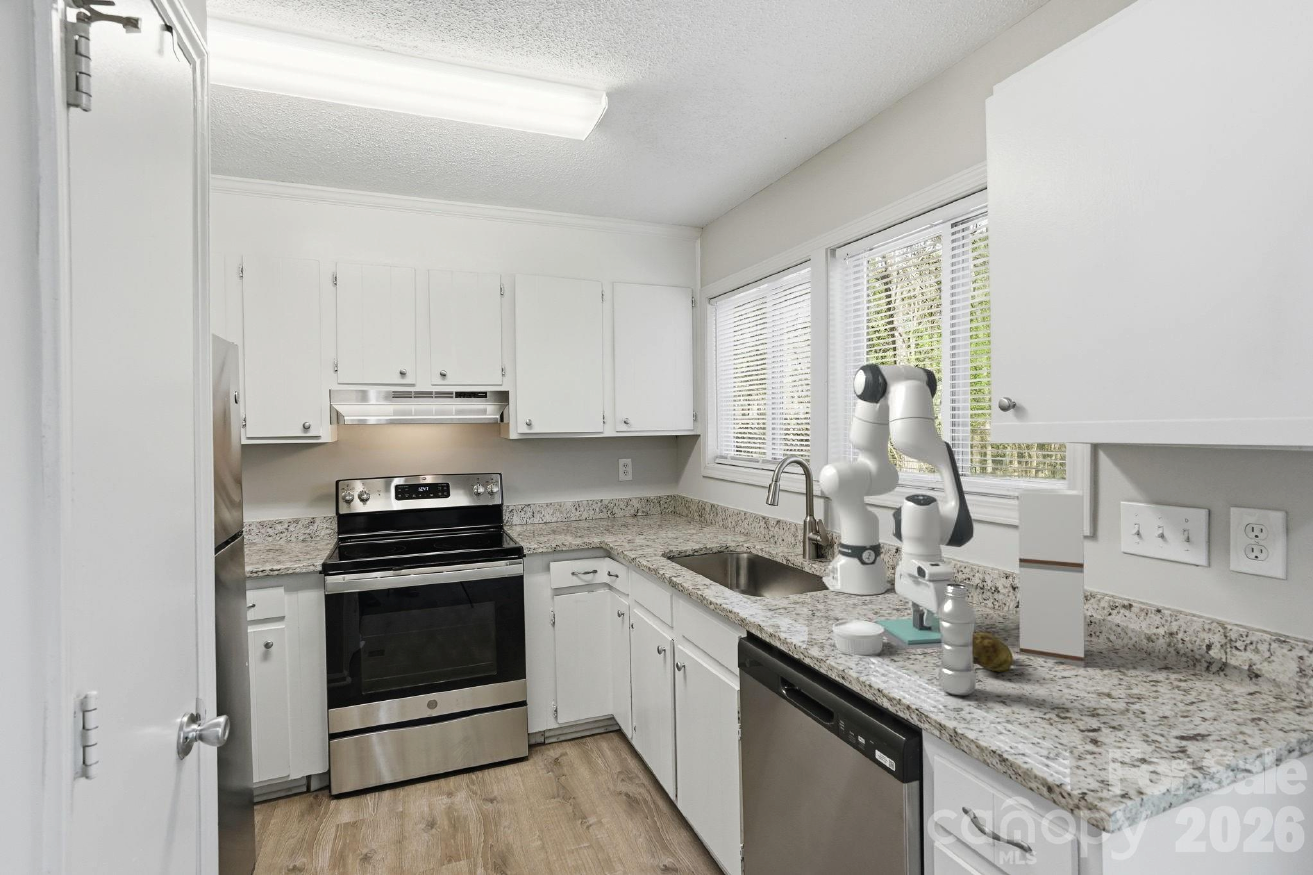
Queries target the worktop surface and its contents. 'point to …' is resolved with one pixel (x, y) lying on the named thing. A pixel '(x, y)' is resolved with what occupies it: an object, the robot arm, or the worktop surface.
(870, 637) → the ramekin
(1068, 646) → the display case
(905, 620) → the lid
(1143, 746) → the worktop surface
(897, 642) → the mat
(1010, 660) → the potato
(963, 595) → the plastic bottle
